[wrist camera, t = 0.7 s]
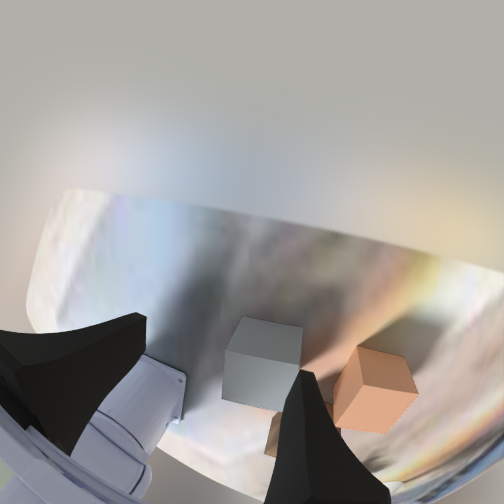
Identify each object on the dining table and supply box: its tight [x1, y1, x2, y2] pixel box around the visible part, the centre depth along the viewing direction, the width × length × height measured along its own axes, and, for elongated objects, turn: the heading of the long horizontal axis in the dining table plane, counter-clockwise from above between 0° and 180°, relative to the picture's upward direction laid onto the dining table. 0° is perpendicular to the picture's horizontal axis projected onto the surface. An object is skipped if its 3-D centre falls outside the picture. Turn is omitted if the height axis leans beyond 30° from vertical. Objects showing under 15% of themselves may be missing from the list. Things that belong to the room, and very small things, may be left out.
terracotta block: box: [333, 346, 419, 434], centre depth 19 cm, size 5×5×5 cm
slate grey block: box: [221, 316, 303, 412], centre depth 20 cm, size 5×5×5 cm
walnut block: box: [264, 402, 341, 458], centre depth 22 cm, size 5×5×5 cm
